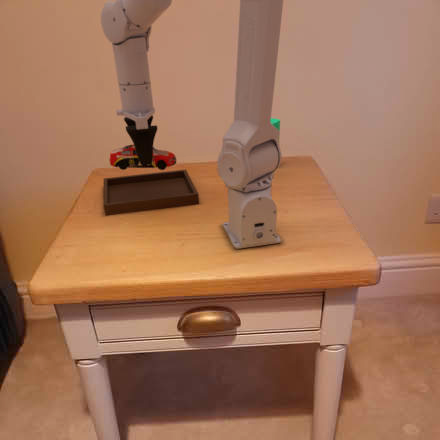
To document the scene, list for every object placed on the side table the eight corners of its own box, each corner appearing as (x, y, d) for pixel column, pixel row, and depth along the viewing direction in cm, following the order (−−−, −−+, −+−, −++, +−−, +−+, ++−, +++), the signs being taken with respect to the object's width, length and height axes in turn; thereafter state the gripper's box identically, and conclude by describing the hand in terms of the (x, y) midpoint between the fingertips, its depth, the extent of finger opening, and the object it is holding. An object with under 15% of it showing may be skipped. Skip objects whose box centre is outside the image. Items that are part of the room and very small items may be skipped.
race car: (179, 163, 86) (178, 142, 84) (173, 171, 81) (171, 149, 79) (117, 161, 88) (114, 141, 85) (108, 169, 83) (104, 148, 81)
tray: (199, 203, 85) (198, 193, 84) (105, 215, 82) (103, 205, 81) (186, 178, 98) (186, 169, 97) (105, 187, 95) (103, 178, 94)
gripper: (111, 78, 81) (122, 150, 89) (112, 91, 69) (126, 172, 77) (148, 76, 82) (156, 147, 90) (155, 88, 70) (164, 168, 78)
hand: (144, 158), depth 84 cm, fingers closed on race car, 6 cm apart
